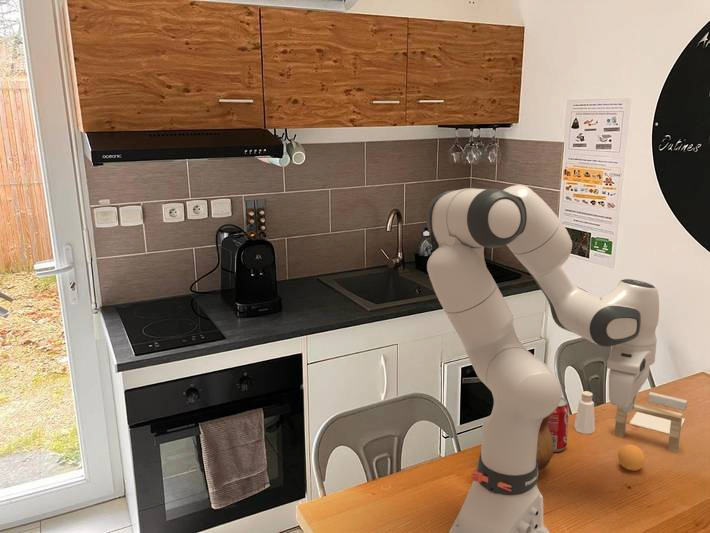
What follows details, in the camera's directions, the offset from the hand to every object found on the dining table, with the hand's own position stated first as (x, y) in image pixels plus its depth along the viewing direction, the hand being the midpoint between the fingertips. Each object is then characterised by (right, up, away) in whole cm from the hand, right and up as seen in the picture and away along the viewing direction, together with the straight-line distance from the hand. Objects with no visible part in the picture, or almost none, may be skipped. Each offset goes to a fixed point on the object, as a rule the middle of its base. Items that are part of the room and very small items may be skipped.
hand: (628, 409), depth 131 cm
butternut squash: (-21, -18, +12) cm, 30 cm away
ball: (+6, -14, +11) cm, 19 cm away
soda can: (-10, -15, +22) cm, 29 cm away
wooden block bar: (+32, -9, +44) cm, 56 cm away
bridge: (+16, -14, +24) cm, 32 cm away
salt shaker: (+2, -13, +30) cm, 33 cm away
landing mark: (+24, -12, +34) cm, 44 cm away
